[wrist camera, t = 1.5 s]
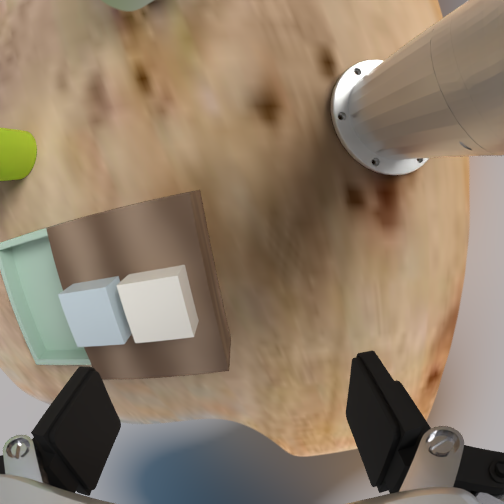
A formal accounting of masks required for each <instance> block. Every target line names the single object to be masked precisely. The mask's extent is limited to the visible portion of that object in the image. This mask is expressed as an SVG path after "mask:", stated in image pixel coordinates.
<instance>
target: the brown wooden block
mask: <svg viewBox="0 0 504 504" xmlns="http://www.w3.org/2000/svg"><path fill="white" fill-rule="evenodd" d="M46 229H47V234H48V238H49V242H50V246H51V250H52V254H53V258H54V262H55V265H56V269H57V272H58V276H59V279H60V283H61V286H62V289H63V291H64V290H65V289H66V288H68V287H69V286H71V285H72V284H75V283H81V282H86V281H92V280H98V279H104V278H110V277H116V276H119V279H120V282H121V281H122V280H123V279H124V278H125V277H126V276H127V275H129V274H134V273H139V272H145V271H151V270H157V269H163V268H169V267H175V266H180V265H185V268H186V272H187V276H188V280H189V285H190V289H191V293H192V297H193V301H194V305H195V309H196V313H197V317H198V320H199V322H198V325H197V328H196V332H195V335H194V337H191V338H182V339H173V340H164V341H154V342H144V343H135V341H134V338H133V335H132V334H131V335H130V337H129V338H128V340H127V341H126V343H125V344H120V345H106V346H89V347H84V349H85V351H86V353H87V356H88V358H89V360H90V362H91V365H92V367H93V368H94V369H95V370H96V371H97V372H99V374H100V376H101V378H102V379H138V378H158V377H172V376H184V375H195V374H205V373H214V372H222V371H229V363H230V346H231V337H230V333H229V328H228V324H227V320H226V315H225V311H224V306H223V302H222V297H221V293H220V288H219V283H218V279H217V274H216V269H215V264H214V259H213V255H212V250H211V245H210V240H209V235H208V230H207V224H206V219H205V214H204V209H203V203H202V198H201V193H200V190H197V191H192V192H187V193H182V194H177V195H172V196H168V197H163V198H159V199H154V200H150V201H145V202H141V203H137V204H133V205H129V206H125V207H120V208H116V209H112V210H109V211H105V212H101V213H97V214H93V215H90V216H86V217H82V218H79V219H75V220H72V221H68V222H65V223H62V224H58V225H55V226H52V227H48V228H46Z"/></svg>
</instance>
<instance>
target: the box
mask: <svg viewBox="0 0 504 504" xmlns="http://www.w3.org/2000/svg"><path fill="white" fill-rule="evenodd" d="M71 221H72V220H71ZM64 223H65V222H64ZM61 224H62V223H61ZM54 226H55V225H54ZM51 227H52V226H51ZM0 270H1V274H2V277H3V281H4V284H5V287H6V290H7V293H8V296H9V299H10V302H11V305H12V308H13V311H14V313H15V316H16V319H17V321H18V324H19V326H20V329H21V331H22V334H23V336H24V338H25V341H26V343H27V345H28V347H29V350H30V352H31V354H32V356H33V358H34V360H35V363H36V364H37V365H91V362H90V360H89V358H88V356H87V353H86V351H85V349H84V347H77V344H76V342H75V339H74V337H73V334H72V332H71V329H70V327H69V324H68V322H67V319H66V316H65V314H64V311H63V308H62V305H61V302H60V299H59V296H58V294H59V293H61V292H62V291H63V289H62V286H61V283H60V279H59V276H58V272H57V269H56V265H55V262H54V258H53V254H52V250H51V246H50V242H49V238H48V234H47V229H46V228H44V229H41V230H38V231H35V232H31V233H28V234H25V235H22V236H19V237H16V238H13V239H10V240H7V241H4V242H1V243H0Z"/></svg>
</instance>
